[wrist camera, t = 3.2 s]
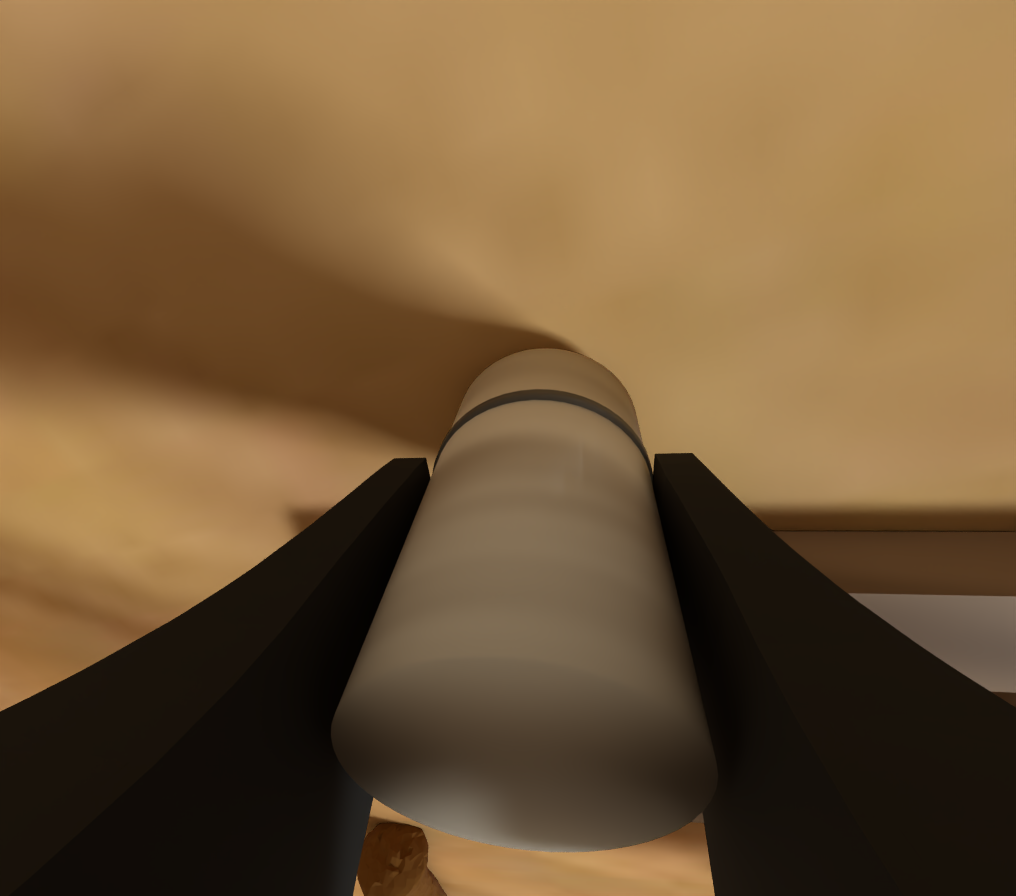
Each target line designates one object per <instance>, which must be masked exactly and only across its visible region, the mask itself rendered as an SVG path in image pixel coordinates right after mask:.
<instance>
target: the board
mask: <svg viewBox="0 0 1016 896" xmlns="http://www.w3.org/2000/svg"><path fill="white" fill-rule="evenodd" d="M773 532H774V533H775V534H776V535H777V536H779V537H780V538H781V539H782V540H783V541H784V542H785V543H787V544H788V545H789V546H790V547H791V548H792V549H794V550H795V551H796V552H797V553H798V554H799V555H801V556H802V557H803V558H804V559H806V560H807V561H808V562H809V563H810V564H812V565H813V566H814V567H815V568H817V569H818V570H819V571H820V572H821V573H823V574H824V575H825V576H826V577H828V578H829V579H830V580H831V581H832V582H834V583H835V584H836V585H838V586H839V587H840V588H841V589H843V590H844V591H845V592H847V593H848V594H849V595H851V596H852V597H853V598H855V599H856V600H857V601H858V602H860V603H861V604H863V605H864V606H865V607H867V608H868V609H870V610H871V611H872V612H874V613H875V614H877V615H878V616H879V617H881V618H882V619H883V620H885V621H886V622H888V623H889V624H890V625H892V626H893V627H895V628H896V629H897V630H899V631H900V632H902V633H903V634H904V635H906V636H907V637H909V638H910V639H911V640H913V641H914V642H916V643H917V644H919V645H920V646H921V647H923V648H924V649H926V650H927V651H929V652H930V653H932V654H933V655H935V656H936V657H938V658H939V659H941V660H942V661H944V662H945V663H947V664H948V665H950V666H951V667H953V668H954V669H956V670H957V671H959V672H961V673H962V674H964V675H965V676H967V677H968V678H970V679H972V680H973V681H975V682H976V683H978V684H979V685H981V686H983V687H984V688H986V689H987V690H989V691H991V692H992V693H994V694H995V695H997V696H998V697H1000V698H1002V699H1003V700H1005V701H1006V702H1008V703H1009V704H1011V705H1013V706H1014V707H1016V532H880V531H773ZM691 822H696V823H704V819H703V813H701V814H699V815H698V816H697V817H696V818H695V819H694V820H693V821H691Z"/></svg>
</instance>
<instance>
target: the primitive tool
mask: <svg viewBox="0 0 1016 896" xmlns="http://www.w3.org/2000/svg"><path fill="white" fill-rule="evenodd" d="M427 862H428V843H427V839H426V837H425V834H424V832H423V830H422V829H420V828H418V827H415V826H410V825H401V824H397V823H381V824H378V825H377V826H376V827H375V829H374V830H373V831H372V832H370V833H369V834H368V835H367V837H366V838H365V840H364V843H363V848H362V852H361V857H360V862H359V866H358V871H357V877H358V881H359V884H360V886H361V889H362V892H363V894H364V896H447V895H446V893H445V892H444V890H443V889H442V888H441V886H440V884H439V883H438V880H437V879H436V878H435V877H434V875H433V874H432V872H431V871H429V869H428V868H427Z"/></svg>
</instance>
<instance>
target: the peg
mask: <svg viewBox="0 0 1016 896" xmlns="http://www.w3.org/2000/svg"><path fill="white" fill-rule="evenodd" d="M652 484H653V472H652V468H651V464H650V460H649V457H648V455H647V452H646V449H645V447H644V446H643V442H642V438H641V433H640V429H639V425H638V420H637V416H636V412H635V408H634V405H633V402H632V400H631V398H630V396H629V394H628V392H627V390H626V389H625V387H624V386H623V385H622V383H621V382H620V381H619V379H618V378H617V377H616V376H615V375H614V374H613V373H612V372H610V371H609V370H608V369H607V368H605V367H604V366H603V365H601V364H600V363H598V362H596V361H594V360H593V359H591V358H588V357H586V356H583V355H581V354H578V353H575V352H571V351H567V350H561V349H551V348H540V349H531V350H525V351H521V352H517V353H514V354H511V355H509V356H506V357H504V358H502V359H500V360H498V361H496V362H495V363H493V364H492V365H490V366H489V367H488V368H486V369H485V370H484V371H483V372H482V373H481V374H480V375H479V376H478V377H476V379H475V380H474V381H473V383H472V384H471V385H470V387H469V388H468V390H467V392H466V394H465V396H464V398H463V401H462V403H461V406H460V408H459V410H458V413H457V415H456V418H455V420H454V423H453V425H452V428H451V430H450V431H449V432H448V434H447V435H446V437H445V439H444V441H443V443H442V445H441V447H440V450H439V452H438V455H437V458H436V460H435V463H434V468H433V474H432V477H431V479H430V482H429V484H428V486H427V489H426V491H425V494H424V496H423V499H422V501H421V504H420V506H419V509H418V511H417V513H416V516H415V518H414V521H413V523H412V526H411V528H410V531H409V533H408V535H407V538H406V540H405V543H404V545H403V548H402V550H401V553H400V555H399V558H398V560H397V562H396V565H395V567H394V570H393V572H392V575H391V577H390V580H389V582H388V585H387V587H386V589H385V592H384V594H383V597H382V599H381V602H380V604H379V607H378V609H377V612H376V614H375V616H374V619H373V621H372V624H371V626H370V629H369V631H368V634H367V636H366V639H365V641H364V643H363V646H362V648H361V651H360V653H359V656H358V658H357V661H356V663H355V665H354V668H353V670H352V673H351V675H350V678H349V680H348V683H347V685H346V688H345V690H344V692H343V695H342V697H341V700H340V702H339V705H338V707H337V710H336V712H335V715H334V718H333V721H332V725H331V740H332V745H333V749H334V751H335V754H336V756H337V758H338V760H339V762H340V763H341V765H342V766H343V768H344V769H345V771H346V772H347V773H348V774H349V776H350V777H351V778H352V779H353V780H354V781H355V782H356V783H357V784H358V785H359V786H360V787H361V788H363V789H364V790H365V791H366V792H367V793H368V794H370V795H371V796H373V797H374V798H375V799H377V800H378V801H380V802H381V803H383V804H384V805H386V806H388V807H389V808H391V809H393V810H394V811H396V812H398V813H400V814H402V815H404V816H406V817H408V818H410V819H412V820H414V821H416V822H419V823H421V824H424V825H426V826H428V827H431V828H434V829H436V830H439V831H442V832H445V833H448V834H451V835H454V836H458V837H461V838H465V839H468V840H473V841H477V842H481V843H486V844H490V845H496V846H502V847H507V848H514V849H523V850H531V851H545V852H589V851H600V850H610V849H616V848H622V847H628V846H633V845H637V844H641V843H645V842H648V841H651V840H654V839H657V838H660V837H663V836H665V835H667V834H670V833H672V832H674V831H676V830H678V829H680V828H682V827H683V826H685V825H686V824H688V823H690V822H691V821H693V820H694V819H695V818H696V817H697V816H698V815H699V814H701V813H702V812H703V811H704V809H705V808H706V807H707V805H708V804H709V803H710V802H711V800H712V798H713V795H714V793H715V791H716V789H717V782H718V770H717V763H716V758H715V754H714V750H713V745H712V741H711V737H710V732H709V728H708V724H707V719H706V715H705V711H704V706H703V702H702V698H701V693H700V689H699V685H698V680H697V676H696V672H695V667H694V663H693V659H692V654H691V650H690V646H689V641H688V637H687V633H686V628H685V624H684V620H683V615H682V611H681V607H680V602H679V598H678V594H677V589H676V585H675V581H674V576H673V572H672V568H671V563H670V559H669V555H668V550H667V546H666V542H665V537H664V533H663V529H662V524H661V520H660V516H659V511H658V507H657V503H656V498H655V494H654V490H653V485H652Z"/></svg>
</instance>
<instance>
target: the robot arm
mask: <svg viewBox="0 0 1016 896" xmlns="http://www.w3.org/2000/svg"><path fill="white" fill-rule="evenodd" d="M429 482H430V474H429V469H428V465H427V460H426V458H394V459H393V460H391V461H390V462H389V463H387V464H386V465H384V466H383V467H382V468H381V469H379V470H378V471H377V472H375V473H374V474H373V475H372V476H370V477H369V478H368V479H367V480H366V481H364V482H363V483H362V484H361V485H359V486H358V487H357V488H356V489H355V490H353V491H352V492H351V493H350V494H349V495H347V496H346V497H345V498H344V499H342V500H341V501H340V502H339V503H337V504H336V505H335V506H334V507H332V508H331V509H330V510H329V511H327V512H326V513H325V514H324V515H323V516H321V517H320V518H319V519H318V520H316V521H315V522H314V523H313V524H311V525H310V526H309V527H307V528H306V529H305V530H303V531H302V532H301V533H299V534H298V535H297V536H295V537H294V538H293V539H291V540H290V541H289V542H287V543H286V544H285V545H283V546H282V547H281V548H279V549H278V550H276V551H275V552H274V553H272V554H271V555H270V556H268V557H267V558H266V559H264V560H263V561H262V562H260V563H259V564H258V565H256V566H255V567H253V568H252V569H251V570H249V571H248V572H246V573H245V574H243V575H242V576H240V577H239V578H237V579H236V580H234V581H233V582H231V583H230V584H228V585H227V586H225V587H224V588H222V589H221V590H219V591H218V592H216V593H215V594H213V595H211V596H210V597H208V598H207V599H205V600H204V601H202V602H200V603H199V604H197V605H196V606H194V607H192V608H191V609H189V610H188V611H186V612H185V613H183V614H181V615H180V616H178V617H176V618H175V619H173V620H171V621H170V622H168V623H166V624H164V625H163V626H161V627H159V628H157V629H155V630H154V631H152V632H150V633H148V634H147V635H145V636H143V637H141V638H139V639H138V640H136V641H134V642H132V643H131V644H129V645H127V646H125V647H123V648H122V649H120V650H118V651H116V652H115V653H113V654H111V655H109V656H107V657H106V658H104V659H102V660H100V661H99V662H97V663H95V664H93V665H91V666H90V667H88V668H86V669H84V670H82V671H80V672H78V673H76V674H74V675H72V676H70V677H69V678H67V679H65V680H63V681H61V682H59V683H57V684H55V685H53V686H51V687H49V688H47V689H45V690H43V691H41V692H39V693H37V694H35V695H33V696H31V697H29V698H27V699H25V700H23V701H21V702H19V703H17V704H15V705H13V706H11V707H9V708H7V709H5V710H3V711H1V712H0V896H353V892H354V886H355V881H356V876H357V871H358V866H359V862H360V857H361V852H362V848H363V843H364V838H365V834H366V829H367V824H368V820H369V815H370V810H371V806H372V801H373V796H371V795H370V794H368V793H367V792H366V791H365V790H364V789H363V788H361V787H360V786H359V785H358V784H357V783H356V782H355V781H354V780H353V779H352V778H351V777H350V776H349V774H348V773H347V772H346V771H345V769H344V768H343V766H342V765H341V763H340V762H339V760H338V758H337V756H336V754H335V751H334V749H333V745H332V740H331V725H332V721H333V718H334V715H335V712H336V710H337V707H338V705H339V702H340V700H341V697H342V695H343V692H344V690H345V688H346V685H347V683H348V680H349V678H350V675H351V673H352V670H353V668H354V665H355V663H356V661H357V658H358V656H359V653H360V651H361V648H362V646H363V643H364V641H365V639H366V636H367V634H368V631H369V629H370V626H371V624H372V621H373V619H374V616H375V614H376V612H377V609H378V607H379V604H380V602H381V599H382V597H383V594H384V592H385V589H386V587H387V585H388V582H389V580H390V577H391V575H392V572H393V570H394V567H395V565H396V562H397V560H398V558H399V555H400V553H401V550H402V548H403V545H404V543H405V540H406V538H407V535H408V533H409V531H410V528H411V526H412V523H413V521H414V518H415V516H416V513H417V511H418V509H419V506H420V504H421V501H422V499H423V496H424V494H425V491H426V489H427V486H428V484H429ZM652 485H653V490H654V494H655V498H656V503H657V507H658V511H659V516H660V520H661V524H662V529H663V533H664V537H665V542H666V546H667V550H668V555H669V559H670V563H671V568H672V572H673V576H674V581H675V585H676V589H677V594H678V598H679V602H680V607H681V611H682V615H683V620H684V624H685V628H686V633H687V637H688V641H689V646H690V650H691V654H692V659H693V663H694V667H695V672H696V676H697V680H698V685H699V689H700V693H701V698H702V702H703V706H704V711H705V715H706V719H707V724H708V728H709V732H710V737H711V741H712V745H713V750H714V754H715V758H716V763H717V770H718V782H717V789H716V791H715V793H714V795H713V798H712V800H711V802H710V803H709V804H708V805H707V807H706V808H705V809H704V811H703V812H702V813H703V819H704V825H705V832H706V839H707V845H708V852H709V859H710V865H711V872H712V879H713V886H714V892H715V896H1016V707H1014V706H1013V705H1011V704H1009V703H1008V702H1006V701H1005V700H1003V699H1002V698H1000V697H998V696H997V695H995V694H994V693H992V692H991V691H989V690H987V689H986V688H984V687H983V686H981V685H979V684H978V683H976V682H975V681H973V680H972V679H970V678H968V677H967V676H965V675H964V674H962V673H961V672H959V671H957V670H956V669H954V668H953V667H951V666H950V665H948V664H947V663H945V662H944V661H942V660H941V659H939V658H938V657H936V656H935V655H933V654H932V653H930V652H929V651H927V650H926V649H924V648H923V647H921V646H920V645H919V644H917V643H916V642H914V641H913V640H911V639H910V638H909V637H907V636H906V635H904V634H903V633H902V632H900V631H899V630H897V629H896V628H895V627H893V626H892V625H890V624H889V623H888V622H886V621H885V620H883V619H882V618H881V617H879V616H878V615H877V614H875V613H874V612H872V611H871V610H870V609H868V608H867V607H865V606H864V605H863V604H861V603H860V602H858V601H857V600H856V599H855V598H853V597H852V596H851V595H849V594H848V593H847V592H845V591H844V590H843V589H841V588H840V587H839V586H838V585H836V584H835V583H834V582H832V581H831V580H830V579H829V578H828V577H826V576H825V575H824V574H823V573H821V572H820V571H819V570H818V569H817V568H815V567H814V566H813V565H812V564H810V563H809V562H808V561H807V560H806V559H804V558H803V557H802V556H801V555H799V554H798V553H797V552H796V551H795V550H794V549H792V548H791V547H790V546H789V545H788V544H787V543H785V542H784V541H783V540H782V539H781V538H780V537H779V536H777V535H776V534H775V533H774V532H773V531H772V530H771V529H770V528H769V527H768V526H767V525H765V524H764V523H763V522H762V521H761V520H760V519H759V518H758V517H757V516H756V515H755V514H753V513H752V512H751V511H750V510H749V509H748V508H747V507H746V506H745V505H744V504H743V503H742V502H741V501H740V500H739V499H738V498H737V497H736V496H735V495H734V494H733V493H732V492H731V491H730V490H729V489H728V488H727V487H726V486H725V485H724V484H723V483H722V482H721V481H720V480H719V479H718V478H717V477H716V476H715V475H714V474H713V473H712V472H711V471H710V470H709V469H708V468H707V467H706V466H705V465H704V464H703V463H702V462H701V461H700V460H699V459H698V458H697V457H696V456H695V455H694V454H693V453H671V454H655V459H654V471H653V484H652Z"/></svg>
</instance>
